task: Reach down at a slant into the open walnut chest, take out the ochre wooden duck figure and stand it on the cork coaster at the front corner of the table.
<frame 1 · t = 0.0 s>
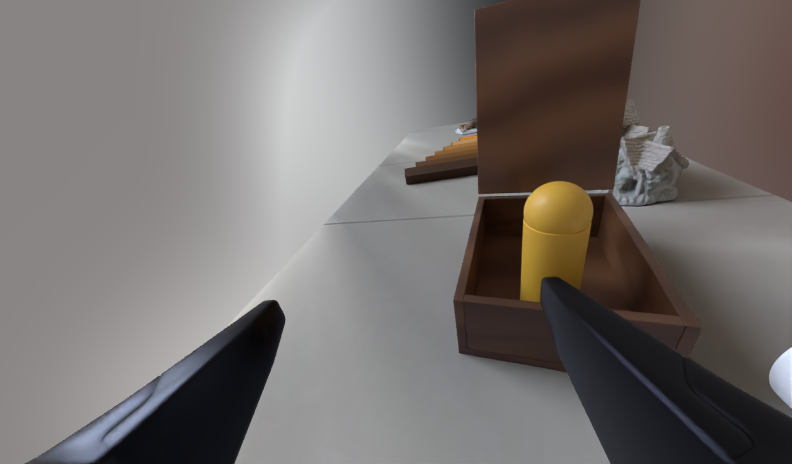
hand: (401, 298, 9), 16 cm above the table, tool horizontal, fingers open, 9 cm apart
frog figurine: (470, 130, 103), on the table
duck: (546, 308, 26), point 1 cm above the table, touching chest
pan flute: (455, 162, 73), on the table
chest lid: (543, 102, 33), point 16 cm above the table, hinge at 100.0°
ceramic cottage: (599, 188, 47), on the table
chest: (542, 286, 30), on the table
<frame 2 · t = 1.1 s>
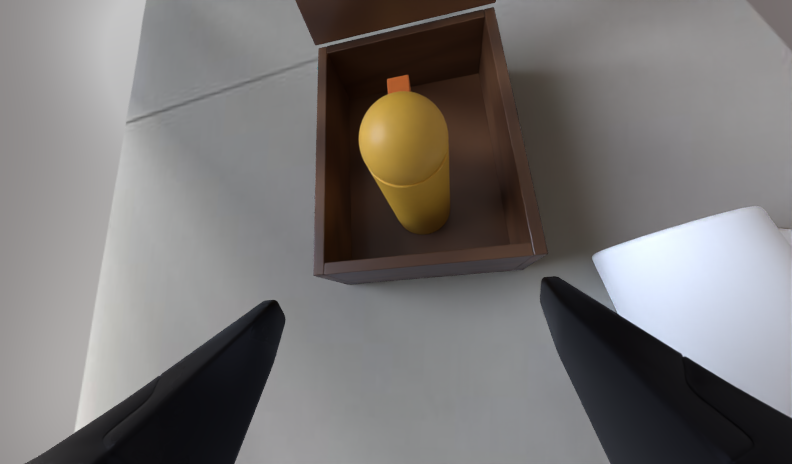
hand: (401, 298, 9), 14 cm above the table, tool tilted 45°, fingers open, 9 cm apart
mug: (689, 308, 19), on the table
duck: (423, 209, 24), point 1 cm above the table, touching chest
chest: (420, 171, 26), on the table
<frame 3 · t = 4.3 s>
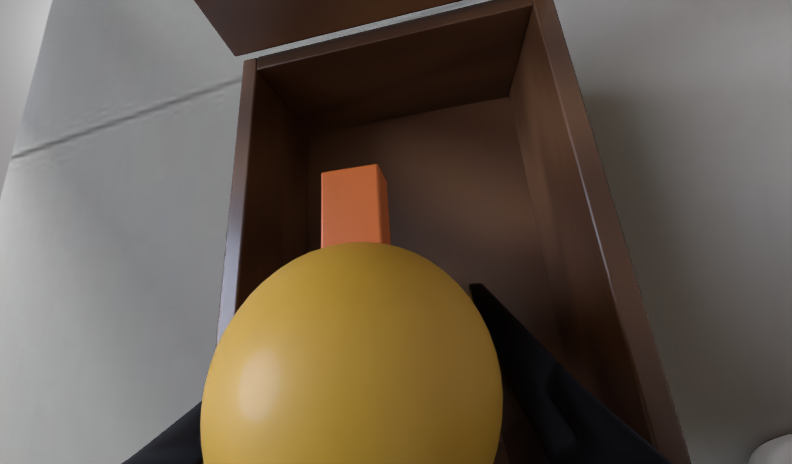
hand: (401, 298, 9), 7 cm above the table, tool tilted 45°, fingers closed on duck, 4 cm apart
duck: (421, 329, 15), point 1 cm above the table, touching chest, gripper
chest: (417, 256, 16), on the table
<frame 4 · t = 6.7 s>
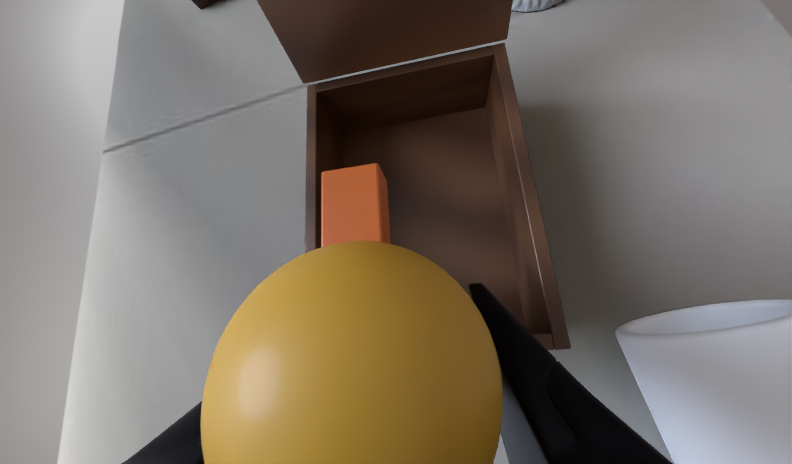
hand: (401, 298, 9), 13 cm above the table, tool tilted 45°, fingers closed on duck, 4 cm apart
mug: (721, 386, 18), on the table
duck: (421, 328, 15), point 7 cm above the table, touching gripper
chest: (421, 218, 24), on the table
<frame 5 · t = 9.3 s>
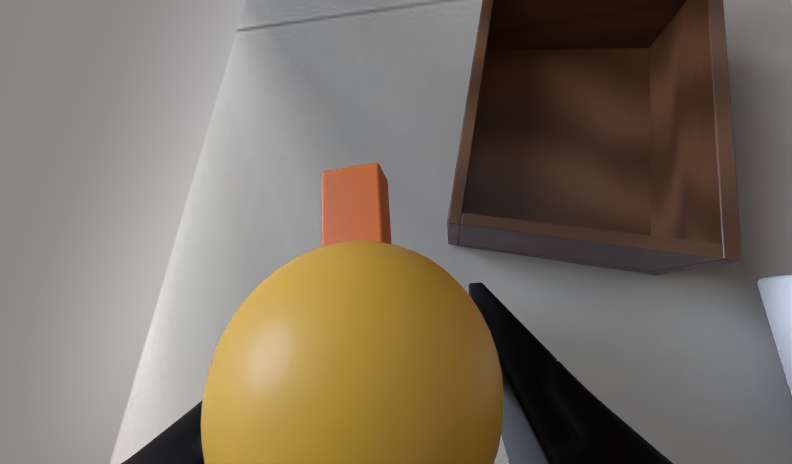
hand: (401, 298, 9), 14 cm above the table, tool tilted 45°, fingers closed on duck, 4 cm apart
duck: (421, 328, 15), point 8 cm above the table, touching gripper
chest: (552, 144, 24), on the table
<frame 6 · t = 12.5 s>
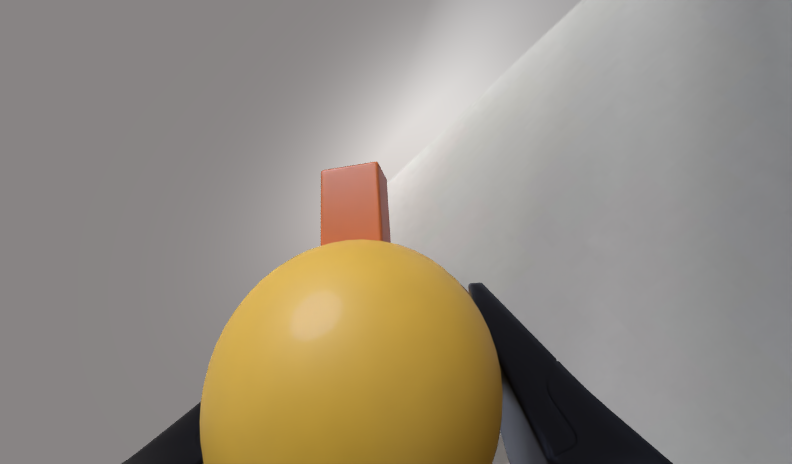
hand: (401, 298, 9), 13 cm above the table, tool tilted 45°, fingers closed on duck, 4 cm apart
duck: (421, 328, 15), point 7 cm above the table, touching gripper
when the fingers open (6 cm above the table, at t = 14.7 s): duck stays where it is, resting on coaster.
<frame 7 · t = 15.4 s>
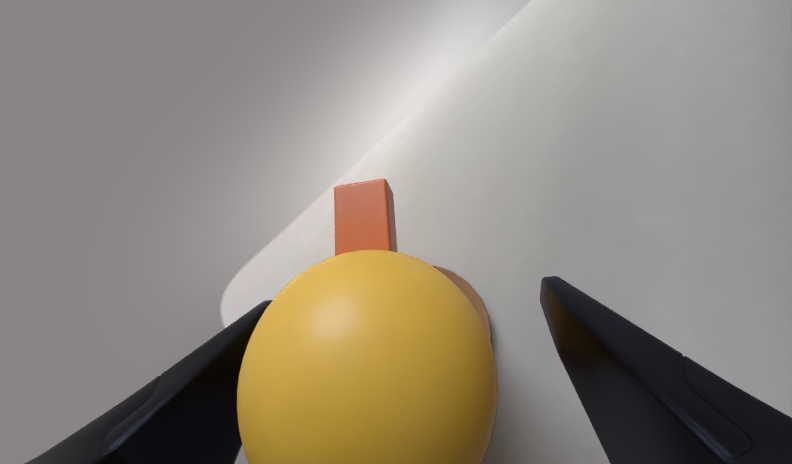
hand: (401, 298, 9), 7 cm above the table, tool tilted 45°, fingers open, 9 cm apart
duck: (423, 328, 15), point 1 cm above the table, touching coaster
coaster: (424, 328, 16), on the table
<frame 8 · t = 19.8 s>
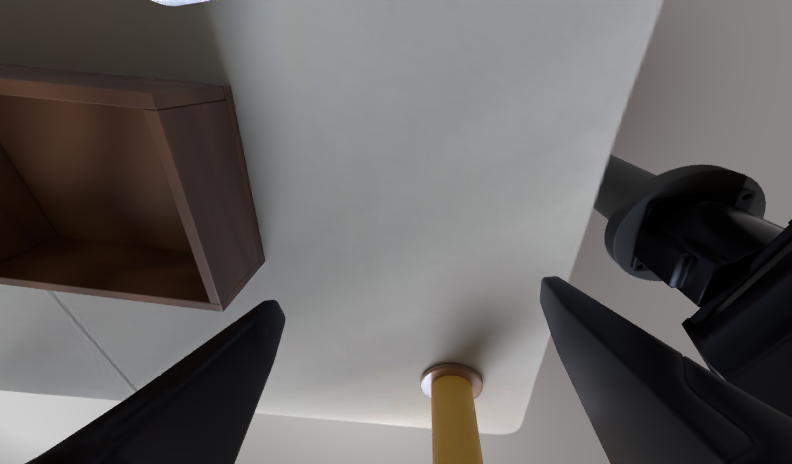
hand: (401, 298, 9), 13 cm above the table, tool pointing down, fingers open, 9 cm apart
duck: (451, 387, 32), point 1 cm above the table, touching coaster
chest: (132, 175, 23), on the table
coaster: (450, 382, 33), on the table
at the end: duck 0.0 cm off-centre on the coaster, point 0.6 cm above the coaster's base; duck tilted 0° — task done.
